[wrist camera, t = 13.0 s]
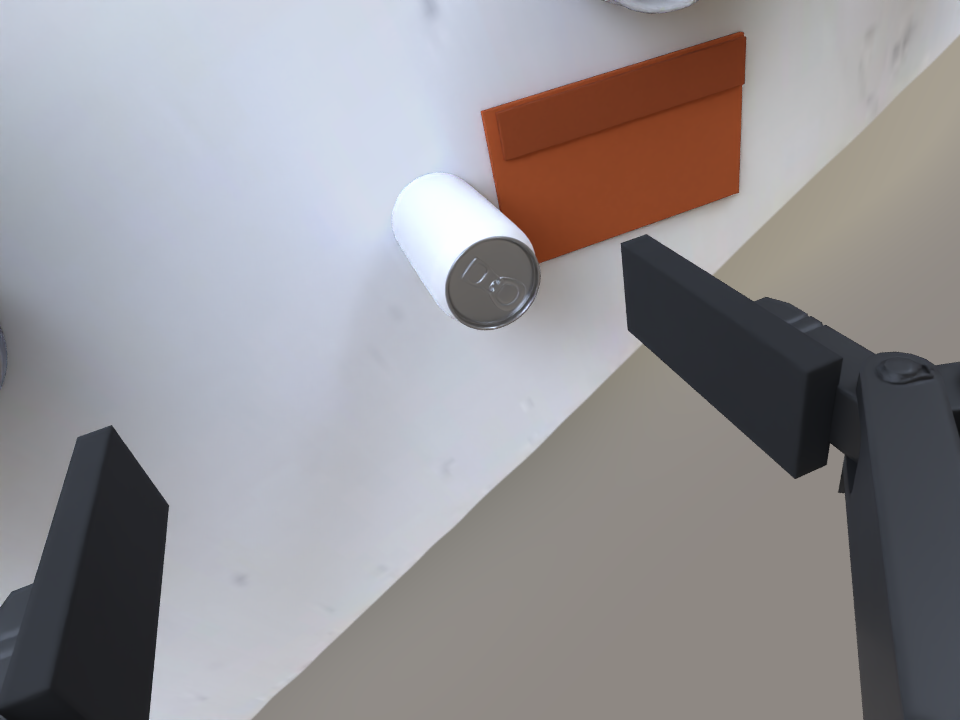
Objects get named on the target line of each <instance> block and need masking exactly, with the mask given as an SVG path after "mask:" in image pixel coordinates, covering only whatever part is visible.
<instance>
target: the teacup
mask: <svg viewBox="0 0 960 720" xmlns="http://www.w3.org/2000/svg"><path fill="white" fill-rule="evenodd" d="M603 1H606V2H609V3H613V4H617V5H621V6H624V7H626V8H628V9H631V10H634V11H638V12H643V13H650V14H654V13H666V12H671V11H675V10H679V9H682V8H685V7H688V6H690V5H691V4H693V3H695V2H697V1H698V0H603Z"/></svg>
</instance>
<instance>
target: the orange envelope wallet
mask: <svg viewBox="0 0 960 720" xmlns="http://www.w3.org/2000/svg"><path fill="white" fill-rule="evenodd" d="M745 57H746V37H744V32H737V33H734V34H731V35H728V36H724V37H721V38H718V39H715V40H711V41H708V42H705V43H701V44H698V45H695V46H692V47H688V48H685V49H682V50H679V51H675V52H672V53H669V54H666V55H662V56H659V57H656V58H653V59H649V60H646V61H643V62H640V63H636V64H633V65H630V66H627V67H623V68H620V69H617V70H614V71H610V72H607V73H604V74H601V75H597V76H594V77H591V78H588V79H584V80H581V81H578V82H575V83H571V84H568V85H565V86H562V87H558V88H555V89H552V90H549V91H545V92H542V93H539V94H536V95H532V96H529V97H526V98H523V99H519V100H516V101H513V102H510V103H506V104H503V105H500V106H497V107H493V108H490V109H487V110H484V111H481V115H482V120H483V126H484V131H485V136H486V141H487V146H488V151H489V156H490V161H491V167H492V172H493V177H494V182H495V187H496V192H497V197H498V202H499V208H500V212H502V213H503V214H504V215H505V216H506V217H507V218H508V219H510V220H511V221H512V222H513V223H514V224H515V225H516V226H517V227H518V228H519V229H520V230H521V231H522V232H523V233H524V234H525V235H526V236H527V238H528V239H529V241H530V242H531V244H532V246H533V249H534V252H535V256H536V258H537V260H538V263H542V262H545V261H547V260H550V259H553V258H556V257H559V256H561V255H564V254H567V253H570V252H573V251H576V250H578V249H581V248H584V247H587V246H590V245H592V244H595V243H598V242H601V241H604V240H607V239H609V238H612V237H615V236H618V235H621V234H624V233H626V232H629V231H632V230H635V229H638V228H640V227H643V226H646V225H649V224H652V223H655V222H657V221H660V220H663V219H666V218H669V217H671V216H674V215H677V214H680V213H683V212H686V211H688V210H691V209H694V208H697V207H700V206H702V205H705V204H708V203H711V202H714V201H717V200H719V199H722V198H725V197H728V196H731V195H733V194H736V193H739V171H740V141H741V110H742V85H743V84H745Z"/></svg>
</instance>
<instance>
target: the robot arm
mask: <svg viewBox="0 0 960 720" xmlns="http://www.w3.org/2000/svg"><path fill="white" fill-rule="evenodd" d="M621 253H622V265H623V277H624V290H625V302H626V314H627V326H628V331H629V332H631V333H632V334H633V335H634V336H635V337H636V338H637V339H638V340H640V341H641V342H642V343H643V344H644V345H645V346H646V347H647V348H649V349H650V350H651V351H652V352H653V353H654V354H655V355H656V356H658V357H659V358H660V359H661V360H662V361H663V362H664V363H665V364H667V365H668V366H669V367H670V368H671V369H672V370H673V371H674V372H676V373H677V374H678V375H679V376H680V377H681V378H682V379H683V380H684V381H686V382H687V383H688V384H689V385H690V386H691V387H692V388H694V389H695V390H696V391H697V392H698V393H699V394H701V396H702V397H704V398H705V399H706V400H707V401H708V402H709V403H710V404H711V405H713V406H714V407H715V408H716V409H717V410H718V411H719V412H720V413H722V414H723V415H724V416H725V417H726V418H728V420H729V421H731V422H732V423H733V424H734V425H735V426H736V427H737V428H738V429H739V430H741V431H742V432H743V433H744V434H745V435H746V436H747V437H749V438H750V439H751V440H752V441H753V442H754V443H755V444H756V445H757V446H759V447H760V448H761V449H762V450H763V451H764V452H765V453H767V454H768V455H769V456H770V457H771V458H772V459H773V460H774V461H775V462H777V463H778V464H779V465H780V466H781V467H782V468H783V469H784V470H786V471H787V472H788V473H789V474H790V475H791V476H792V477H793V478H794V479H796V478H798V477H801V476H803V475H805V474H807V473H810V472H812V471H814V470H816V469H818V468H821V467H823V466H825V465H827V459H828V453H829V446H830V443H831V444H832V445H833V446H835V447H836V448H837V449H839V450H840V451H841V452H842V453H844V454H845V457H844V462H843V468H842V474H841V480H840V485H839V491H838V492H839V493H845V500H846V512H847V524H848V535H849V549H850V560H851V573H852V584H853V596H854V609H855V621H856V632H857V633H856V634H857V646H858V657H859V670H860V682H861V694H862V707H863V719H864V720H960V362H956V363H949V364H941V365H934V364H932V363H931V362H929V361H928V360H927V359H924V358H922V357H919V356H916V355H913V354H908V353H901V352H885V353H878V354H874V353H873V352H871V351H869V350H868V349H866V348H864V347H862V346H861V345H859V344H857V343H856V342H854V341H852V340H851V339H849V338H847V337H846V336H844V335H842V334H841V333H839V332H837V331H835V330H834V329H832V328H830V327H829V326H827V325H824V326H823V324H822V322H820V321H819V320H817V319H815V318H814V317H812V316H810V317H809V316H808V314H806V313H805V312H803V311H802V310H800V309H798V308H797V307H795V306H793V305H791V304H790V303H786V302H783V301H779V300H776V299H772V298H768V297H765V298H762V299H759V300H757V301H752V300H750V299H749V298H747V297H746V296H744V295H742V294H741V293H739V292H738V291H736V290H735V289H733V288H731V287H730V286H728V285H727V284H725V283H723V282H722V281H720V280H719V279H717V278H715V277H714V276H712V275H711V274H709V273H707V272H706V271H704V270H703V269H701V268H699V267H698V266H696V265H695V264H693V263H691V262H690V261H688V260H687V259H685V258H684V257H682V256H680V255H679V254H677V253H676V252H674V251H672V250H671V249H669V248H668V247H666V246H664V245H663V244H661V243H660V242H658V241H656V240H655V239H653V238H652V237H650V236H648V235H647V234H646V235H643V236H640V237H637V238H635V239H632V240H629V241H626V242H623V243H621ZM6 368H7V350H6V343H5V339H4V336H3V332H2V330H1V327H0V389H1V387H2V385H3V382H4V378H5V375H6ZM168 511H169V505H168V503H167V502H166V501H165V499H164V498H163V496H162V495H161V494H160V492H159V491H158V489H157V488H156V487H155V485H154V484H153V482H152V481H151V480H150V478H149V477H148V475H147V474H146V473H145V471H144V470H143V468H142V467H141V466H140V464H139V463H138V461H137V460H136V459H135V457H134V456H133V454H132V453H131V452H130V450H129V449H128V447H127V446H126V444H125V443H124V442H123V440H122V439H121V437H120V436H119V435H118V433H117V432H116V430H115V429H114V428H113V426H112V425H111V426H108V427H105V428H103V429H100V430H97V431H94V432H91V433H89V434H86V435H83V436H80V437H77V441H76V444H75V447H74V451H73V454H72V457H71V461H70V464H69V467H68V471H67V474H66V477H65V480H64V484H63V487H62V490H61V494H60V497H59V500H58V504H57V507H56V510H55V514H54V517H53V520H52V523H51V527H50V530H49V533H48V537H47V540H46V543H45V547H44V550H43V553H42V557H41V560H40V563H39V566H38V570H37V573H36V576H35V580H34V583H33V584H30V585H28V586H25V587H23V588H20V589H18V590H15V591H12V592H11V593H10V595H9V596H8V597H7V599H6V600H5V602H4V603H3V604H2V606H1V607H0V720H149V713H150V702H151V691H152V681H153V670H154V660H155V649H156V638H157V628H158V617H159V607H160V596H161V585H162V575H163V564H164V554H165V543H166V532H167V522H168Z"/></svg>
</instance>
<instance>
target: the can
mask: <svg viewBox="0 0 960 720" xmlns="http://www.w3.org/2000/svg"><path fill="white" fill-rule="evenodd" d="M392 228H393V233H394V236H395V238H396V240H397V242H398V244H399V246H400V247H401V249H402V251H403V252H404V254H405V255H406V257H407V259H408V260H409V262H410V263H411V265H412V266H413V268H414V270H415V271H416V273H417V274H418V276H419V277H420V279H421V280H422V282H423V284H424V285H425V287H426V288H427V290H428V291H429V293H430V294H431V296H432V297H433V299H434V300H435V302H436V303H437V304H438V306H439V307H440V308H441V309H442V310H443V311H444V312H445V313H446V314H447V315H448V316H450V317H451V318H453V319H455V320H457V321H460V322H461V323H462V324H464V325H466V326H468V327H470V328H474V329H478V330H493V329H498V328H501V327H504V326H506V325H508V324H510V323H512V322H514V321H515V320H517V319H518V318H519V317H521V316H522V315H523V314H524V313H525V312H526V311H527V310H528V308H529V307H530V306H531V304H532V303H533V301H534V299H535V297H536V295H537V292H538V289H539V285H540V277H541V275H540V266H539V263H538V260H537V258H536V256H535V252H534V249H533V246H532V244H531V242H530V241H529V239H528V238H527V236H526V235H525V234H524V233H523V232H522V231H521V230H520V229H519V228H518V227H517V226H516V225H515V224H514V223H513V222H512V221H511V220H510V219H508V218H507V217H506V216H505V215H504V214H503V213H502V212H500V211H499V210H498V209H497V208H496V207H495V206H494V205H493V204H491V203H490V202H489V201H488V200H487V199H486V198H484V197H483V196H482V195H481V194H480V193H479V192H478V191H476V190H475V189H474V188H473V187H472V186H470V185H469V184H468V183H467V182H465V181H464V180H463V179H461V178H459V177H457V176H455V175H452V174H449V173H440V172H439V173H430V174H426V175H423V176H421V177H419V178H417V179H415V180H414V181H412V182H411V183H410V184H408V185H407V186H406V187H405V188H404V189H403V191H402V192H401V193H400V195H399V196H398V198H397V200H396V202H395V205H394V208H393V213H392Z"/></svg>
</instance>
